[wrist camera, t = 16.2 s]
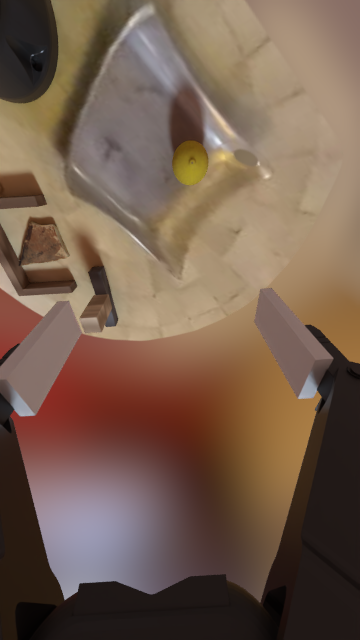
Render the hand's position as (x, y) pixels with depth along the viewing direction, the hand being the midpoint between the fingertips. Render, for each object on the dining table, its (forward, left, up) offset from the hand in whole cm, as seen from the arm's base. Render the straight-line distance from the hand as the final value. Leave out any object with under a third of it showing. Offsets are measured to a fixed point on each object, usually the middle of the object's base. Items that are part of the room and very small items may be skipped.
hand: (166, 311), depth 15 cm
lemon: (-9, +4, -32) cm, 33 cm away
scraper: (+15, -16, -32) cm, 39 cm away
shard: (+4, -25, -32) cm, 41 cm away
